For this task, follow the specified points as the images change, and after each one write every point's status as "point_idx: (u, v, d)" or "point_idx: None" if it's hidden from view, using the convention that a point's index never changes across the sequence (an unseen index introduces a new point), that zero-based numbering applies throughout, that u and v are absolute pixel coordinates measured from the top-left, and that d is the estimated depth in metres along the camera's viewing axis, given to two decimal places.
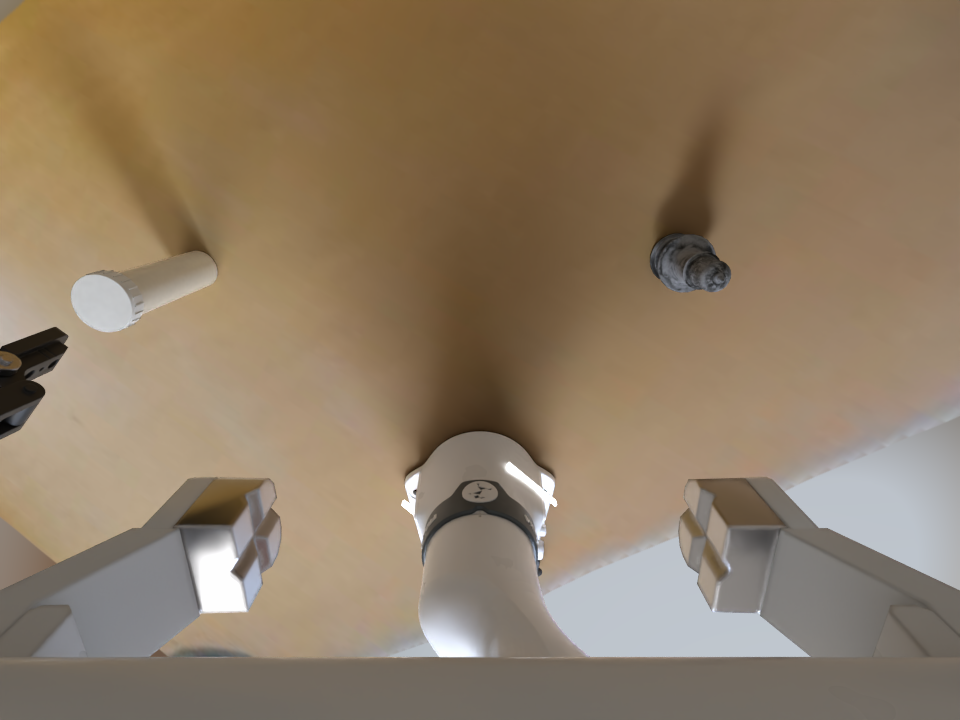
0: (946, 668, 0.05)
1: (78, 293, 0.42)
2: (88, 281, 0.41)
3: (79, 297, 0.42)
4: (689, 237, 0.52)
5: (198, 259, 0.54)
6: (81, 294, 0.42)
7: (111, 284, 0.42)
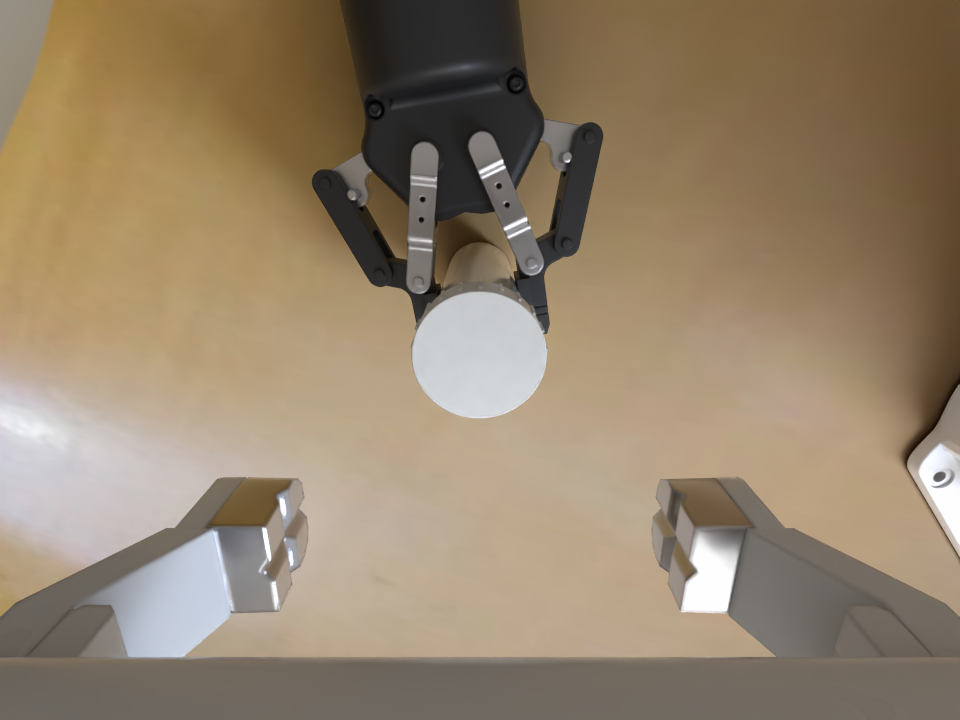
0: (946, 668, 0.05)
1: (427, 357, 0.18)
2: (440, 320, 0.18)
3: (431, 365, 0.19)
4: None
5: (489, 248, 0.30)
6: (433, 356, 0.18)
7: (488, 304, 0.18)
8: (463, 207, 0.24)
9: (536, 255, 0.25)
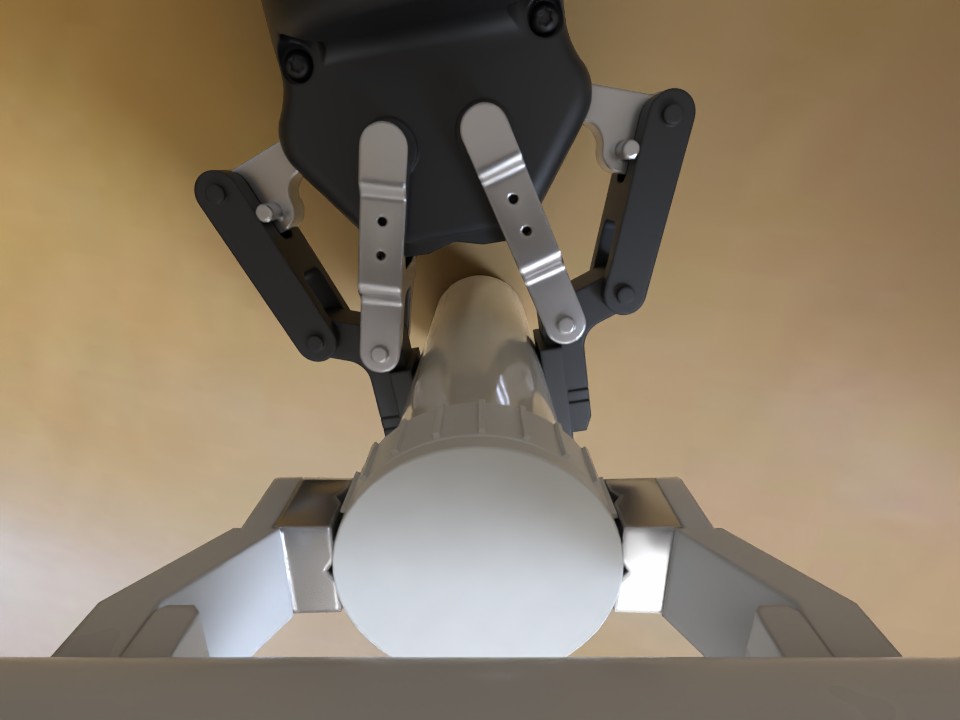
0: (946, 668, 0.05)
1: (366, 574, 0.09)
2: (391, 506, 0.08)
3: (376, 589, 0.09)
4: None
5: (494, 288, 0.20)
6: (378, 571, 0.09)
7: (499, 472, 0.08)
8: (453, 234, 0.15)
9: (574, 313, 0.15)
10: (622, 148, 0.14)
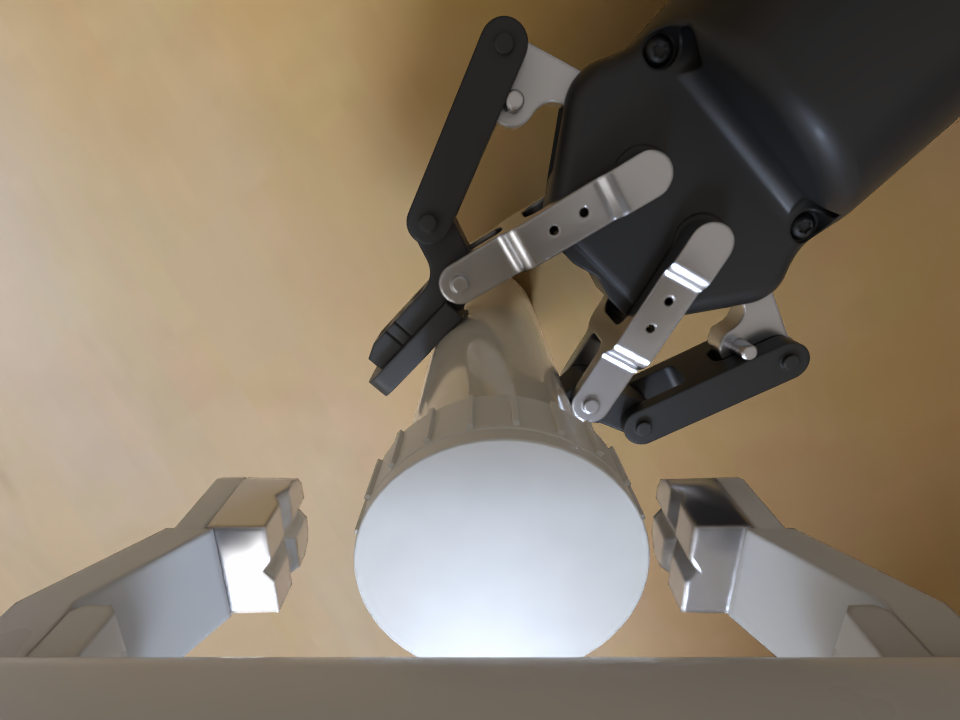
0: (946, 668, 0.05)
1: (406, 614, 0.09)
2: (385, 546, 0.08)
3: (423, 622, 0.09)
4: None
5: (534, 313, 0.21)
6: (415, 607, 0.09)
7: (456, 471, 0.08)
8: (603, 271, 0.15)
9: (604, 404, 0.16)
10: (746, 346, 0.16)
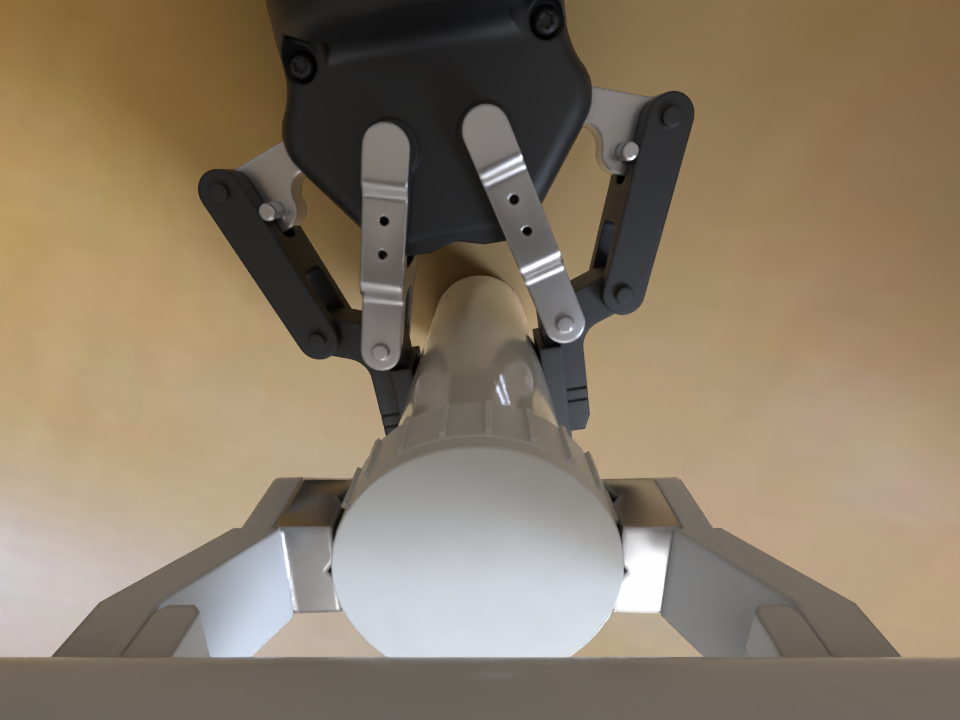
0: (946, 668, 0.05)
1: None
2: (389, 631, 0.09)
3: (482, 654, 0.09)
4: None
5: (494, 288, 0.21)
6: (462, 650, 0.09)
7: (359, 547, 0.08)
8: (454, 233, 0.15)
9: (573, 312, 0.15)
10: (621, 150, 0.14)
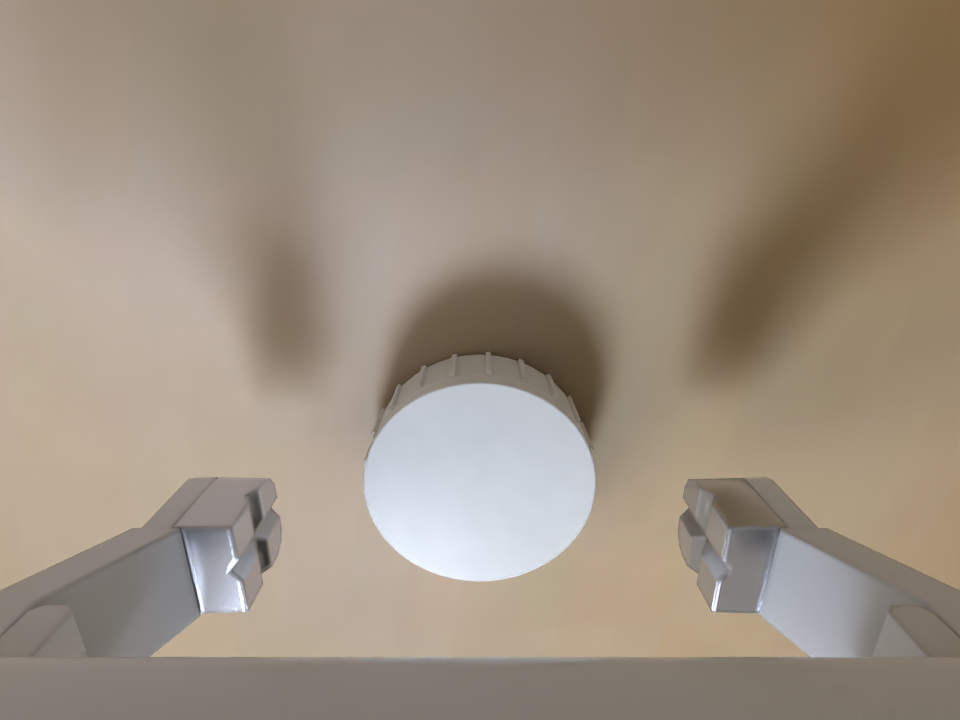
0: (946, 668, 0.05)
1: (469, 560, 0.11)
2: (408, 536, 0.11)
3: (483, 557, 0.11)
4: None
5: None
6: (467, 552, 0.11)
7: (386, 465, 0.11)
8: None
9: None
10: None
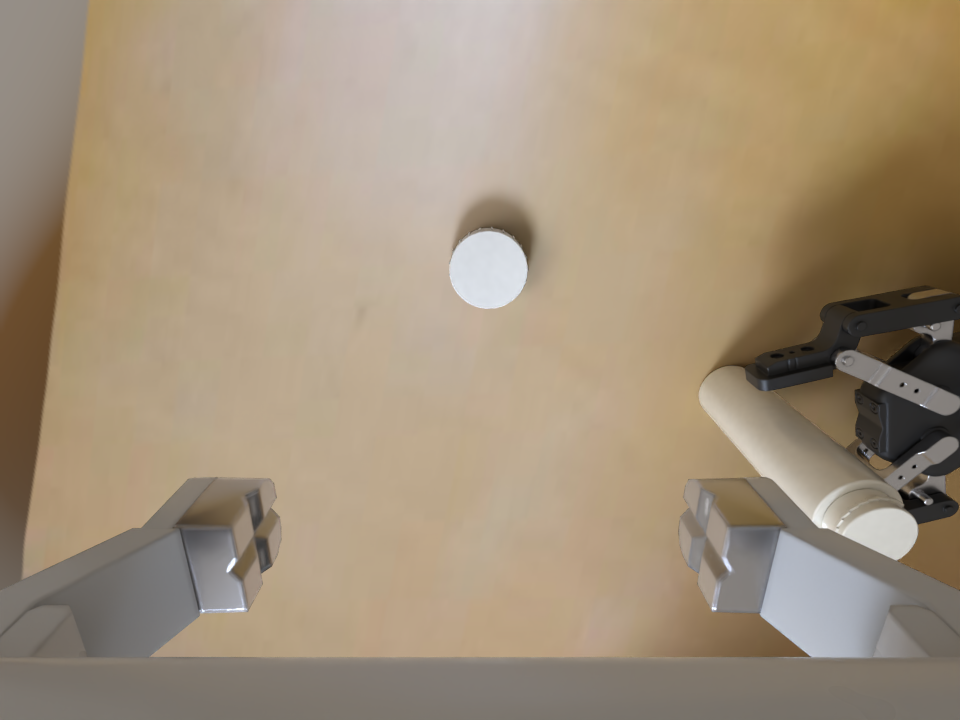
0: (946, 668, 0.05)
1: (484, 299, 0.33)
2: (463, 289, 0.32)
3: (489, 298, 0.33)
4: None
5: None
6: (483, 296, 0.33)
7: (457, 261, 0.32)
8: (887, 427, 0.29)
9: None
10: (928, 498, 0.30)
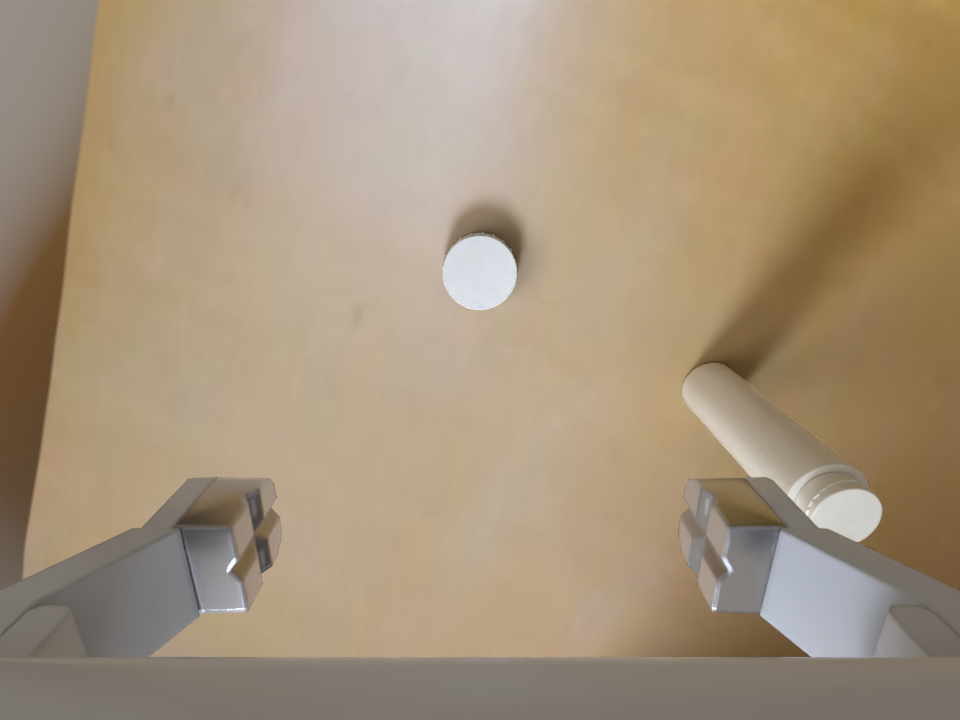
0: (946, 668, 0.05)
1: (476, 301, 0.34)
2: (456, 291, 0.34)
3: (480, 299, 0.34)
4: None
5: None
6: (475, 298, 0.34)
7: (450, 264, 0.33)
8: None
9: None
10: None
